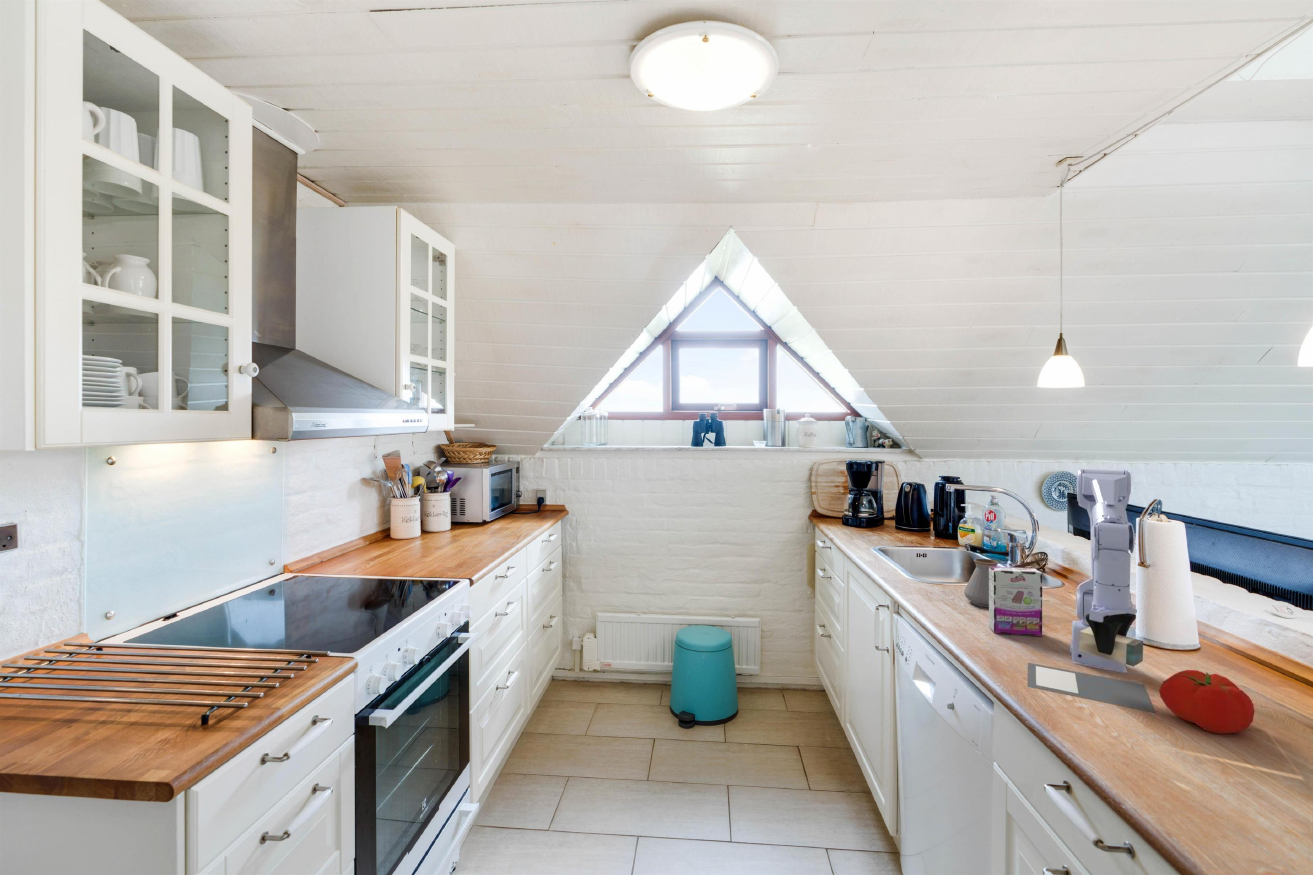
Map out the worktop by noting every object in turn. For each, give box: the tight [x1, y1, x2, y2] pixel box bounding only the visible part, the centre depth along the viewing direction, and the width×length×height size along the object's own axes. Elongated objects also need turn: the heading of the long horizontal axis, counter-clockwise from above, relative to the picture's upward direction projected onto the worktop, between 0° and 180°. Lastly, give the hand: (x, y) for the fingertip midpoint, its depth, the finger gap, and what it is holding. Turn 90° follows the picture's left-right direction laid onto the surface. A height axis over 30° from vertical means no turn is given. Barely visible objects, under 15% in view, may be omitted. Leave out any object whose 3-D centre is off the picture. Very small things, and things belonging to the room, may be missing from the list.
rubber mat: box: [1026, 662, 1156, 714], centre depth 119 cm, size 20×14×1 cm
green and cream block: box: [1079, 627, 1144, 667], centre depth 116 cm, size 9×5×4 cm, turn 33°
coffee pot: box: [963, 557, 1049, 608], centre depth 172 cm, size 21×12×15 cm, turn 68°
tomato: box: [1158, 669, 1256, 735], centre depth 104 cm, size 13×12×8 cm
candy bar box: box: [988, 566, 1043, 637], centre depth 150 cm, size 11×5×16 cm, turn 76°
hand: (1110, 650), depth 117 cm, fingers closed on green and cream block, 4 cm apart
